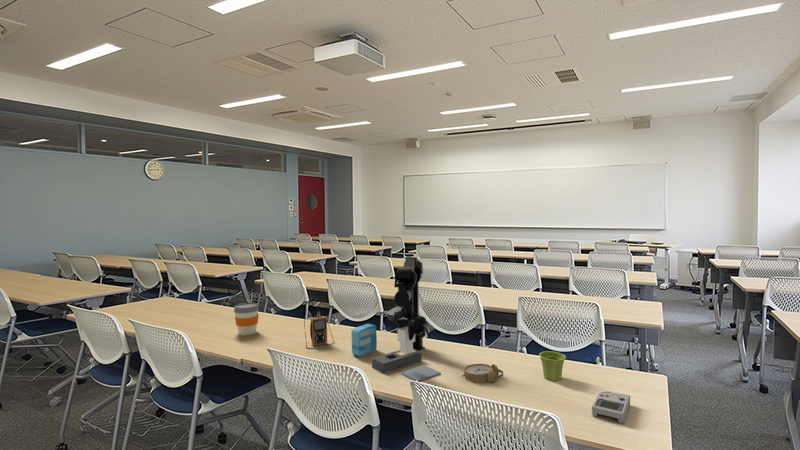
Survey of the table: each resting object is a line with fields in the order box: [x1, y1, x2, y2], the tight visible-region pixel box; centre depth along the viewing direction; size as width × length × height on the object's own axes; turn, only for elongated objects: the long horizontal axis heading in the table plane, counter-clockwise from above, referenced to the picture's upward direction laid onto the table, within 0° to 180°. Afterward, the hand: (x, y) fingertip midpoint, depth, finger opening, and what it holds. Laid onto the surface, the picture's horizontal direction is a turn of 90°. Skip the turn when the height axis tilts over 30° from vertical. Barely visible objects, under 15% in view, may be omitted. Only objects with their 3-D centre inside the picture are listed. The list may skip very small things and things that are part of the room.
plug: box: [397, 327, 415, 354], centre depth 168 cm, size 5×5×9 cm
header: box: [371, 349, 423, 374], centre depth 175 cm, size 20×8×4 cm, turn 127°
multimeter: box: [303, 302, 335, 350], centre depth 200 cm, size 15×10×20 cm
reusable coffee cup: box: [233, 302, 260, 336], centre depth 224 cm, size 13×13×15 cm
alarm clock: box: [462, 363, 504, 384], centre depth 160 cm, size 11×5×15 cm
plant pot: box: [538, 350, 567, 382], centre depth 158 cm, size 9×9×9 cm
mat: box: [400, 364, 441, 382], centre depth 165 cm, size 12×10×1 cm
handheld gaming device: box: [591, 390, 631, 424], centre depth 133 cm, size 9×15×4 cm, turn 144°
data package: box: [350, 323, 378, 357], centre depth 190 cm, size 12×4×12 cm, turn 142°
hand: (406, 338), depth 168 cm, fingers closed on plug, 5 cm apart
